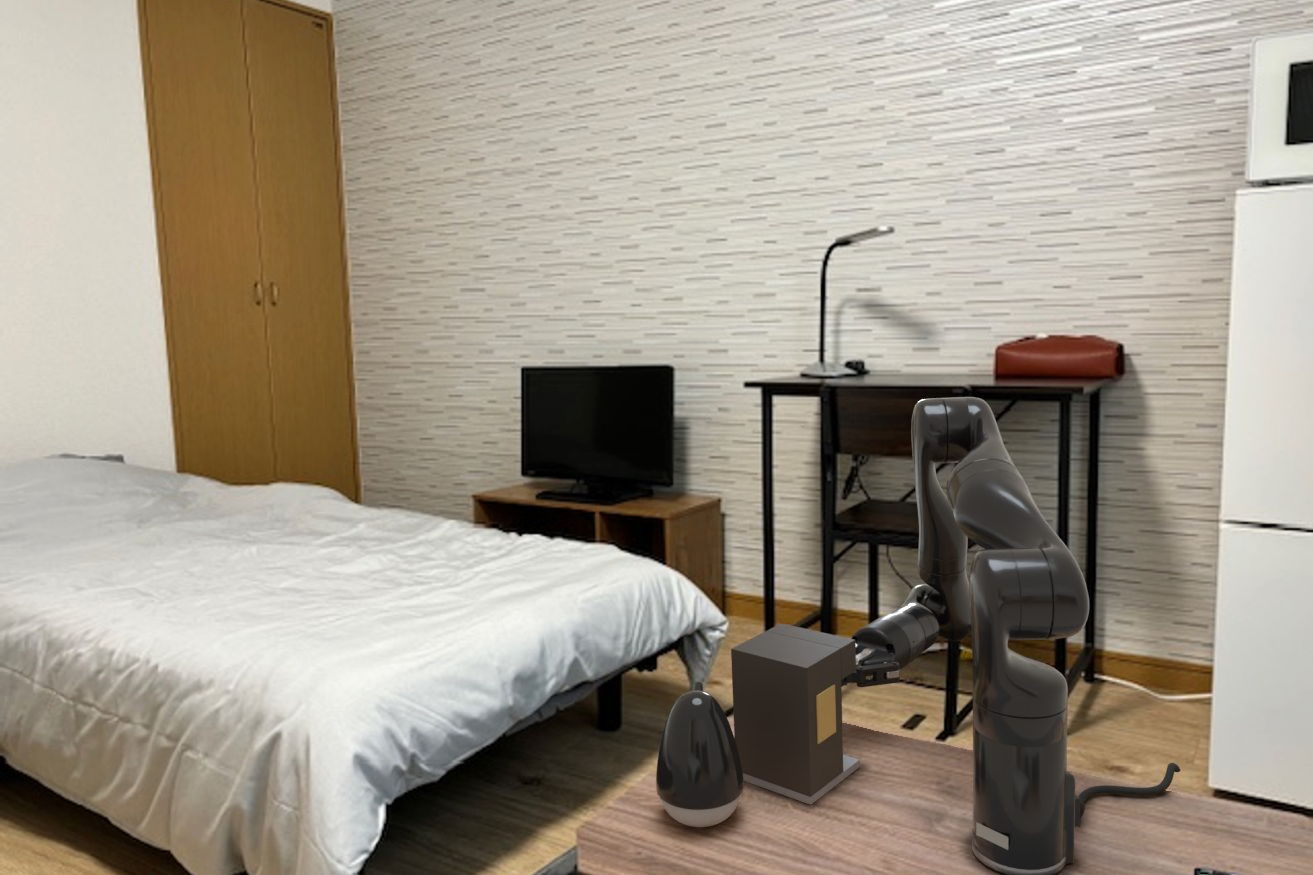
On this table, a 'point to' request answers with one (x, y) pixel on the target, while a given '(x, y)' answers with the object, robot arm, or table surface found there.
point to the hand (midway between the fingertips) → (823, 684)
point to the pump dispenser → (698, 762)
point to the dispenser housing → (792, 710)
